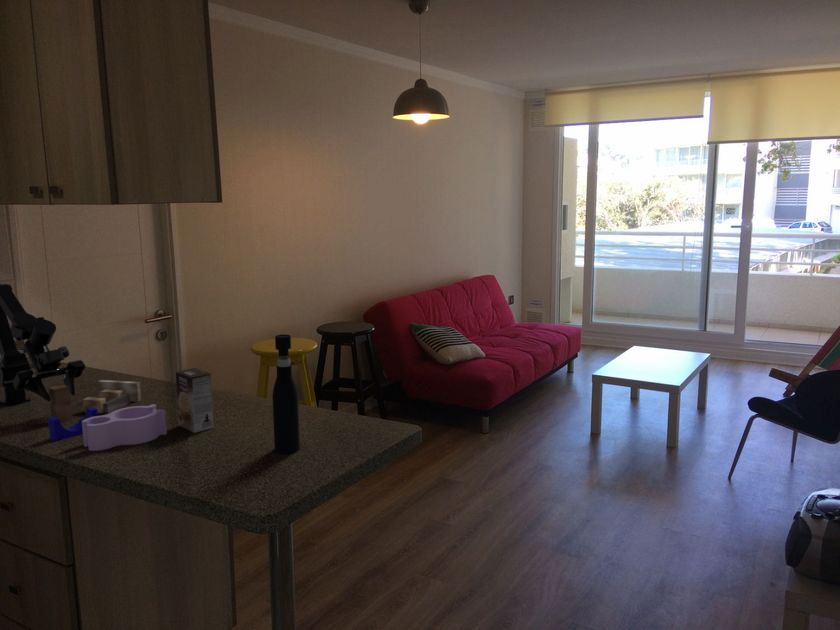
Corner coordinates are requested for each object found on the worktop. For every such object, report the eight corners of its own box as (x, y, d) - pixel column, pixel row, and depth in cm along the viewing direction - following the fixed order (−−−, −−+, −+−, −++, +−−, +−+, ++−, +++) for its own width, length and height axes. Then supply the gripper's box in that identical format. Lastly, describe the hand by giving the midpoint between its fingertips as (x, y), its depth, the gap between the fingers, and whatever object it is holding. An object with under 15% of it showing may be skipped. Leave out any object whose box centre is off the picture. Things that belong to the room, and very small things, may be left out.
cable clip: (90, 426, 195) (88, 406, 194) (98, 429, 192) (97, 409, 191) (47, 438, 185) (45, 417, 184) (55, 441, 183) (53, 420, 182)
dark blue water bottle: (287, 455, 172) (283, 339, 167) (269, 450, 175) (264, 336, 170) (304, 447, 177) (301, 335, 172) (286, 443, 181) (282, 332, 176)
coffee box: (177, 425, 194) (174, 371, 192) (198, 420, 199) (195, 367, 196) (194, 433, 188) (190, 377, 185) (215, 427, 193) (211, 372, 190)
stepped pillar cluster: (72, 411, 208) (70, 392, 206) (102, 397, 221) (100, 379, 220) (113, 414, 205) (111, 394, 204) (141, 400, 219) (139, 382, 218)
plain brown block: (51, 420, 199) (48, 387, 197) (65, 417, 202) (62, 384, 201) (58, 423, 197) (55, 390, 195) (72, 419, 200) (69, 386, 198)
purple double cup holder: (94, 455, 173) (92, 429, 172) (78, 442, 182) (76, 417, 181) (171, 436, 186) (169, 412, 185) (153, 425, 195) (151, 402, 194)
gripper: (13, 344, 190) (35, 389, 186) (79, 333, 205) (101, 374, 200) (3, 367, 196) (25, 411, 192) (68, 355, 211) (90, 396, 206)
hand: (61, 397), depth 197 cm, fingers open, 7 cm apart
